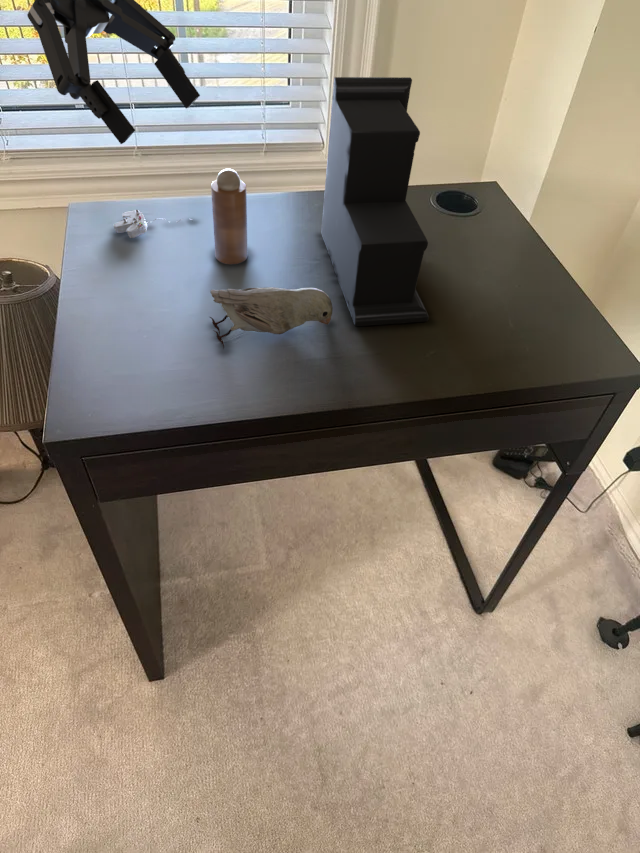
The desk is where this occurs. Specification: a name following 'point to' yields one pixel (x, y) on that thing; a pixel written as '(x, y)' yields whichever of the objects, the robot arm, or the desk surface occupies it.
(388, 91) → the bookend
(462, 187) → the desk surface
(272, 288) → the decorative bird
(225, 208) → the pepper mill
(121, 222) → the game controller
